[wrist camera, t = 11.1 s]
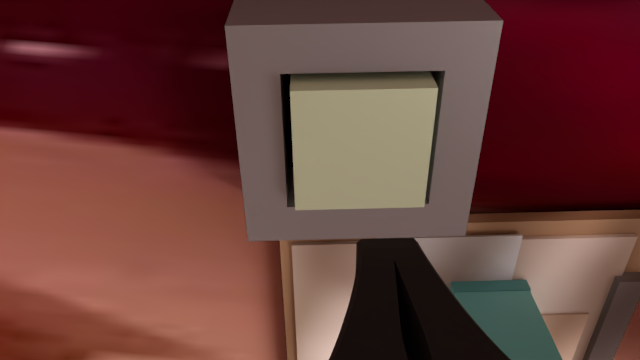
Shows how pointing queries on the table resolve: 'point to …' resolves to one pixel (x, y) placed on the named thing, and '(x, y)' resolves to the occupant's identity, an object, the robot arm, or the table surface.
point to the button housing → (347, 57)
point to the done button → (361, 139)
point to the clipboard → (489, 276)
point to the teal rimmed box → (508, 317)
